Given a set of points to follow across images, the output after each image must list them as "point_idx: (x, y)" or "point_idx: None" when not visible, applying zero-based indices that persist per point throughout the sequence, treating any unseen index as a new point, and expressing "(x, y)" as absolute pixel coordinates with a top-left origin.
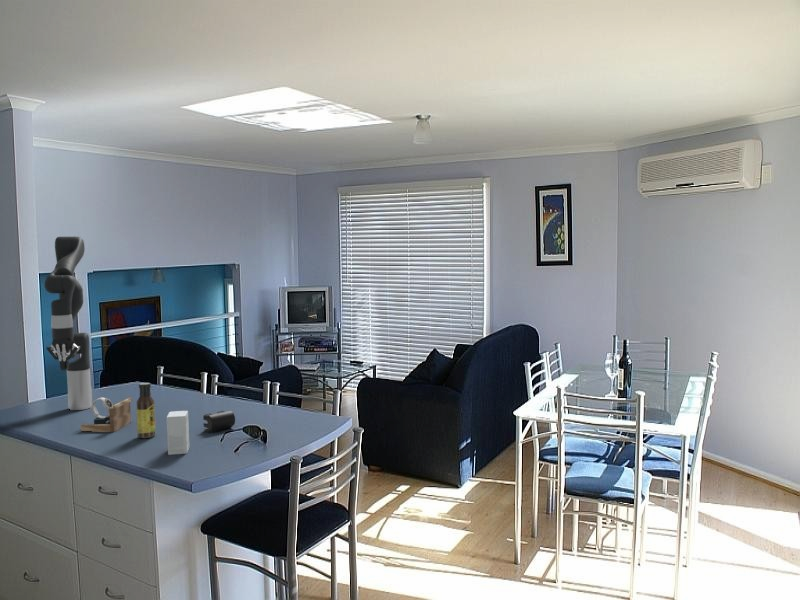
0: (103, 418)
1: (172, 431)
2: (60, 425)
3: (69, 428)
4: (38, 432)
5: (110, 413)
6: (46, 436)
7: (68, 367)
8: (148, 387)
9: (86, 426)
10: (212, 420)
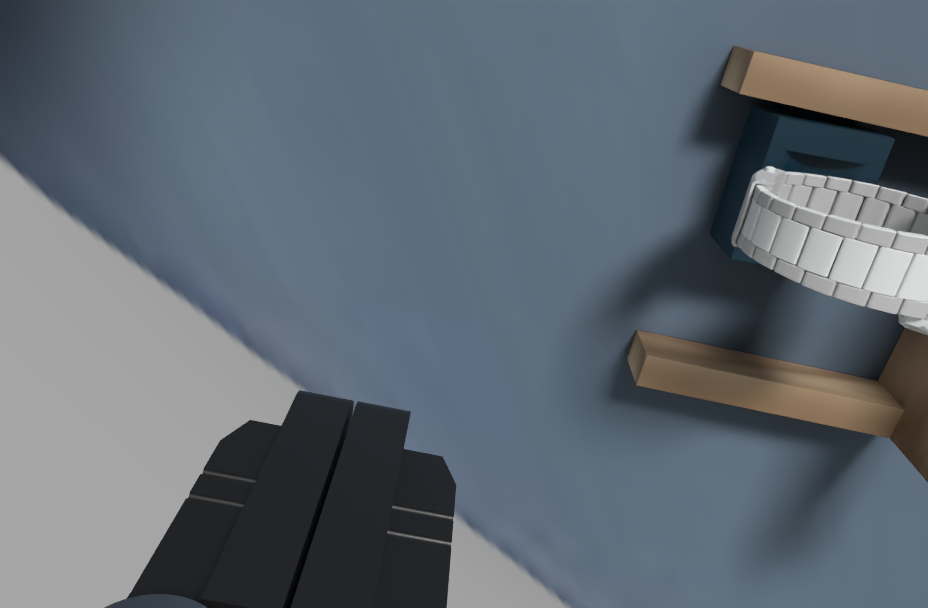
0: (810, 171)
1: None
2: (371, 97)
3: (496, 229)
4: (280, 309)
5: None
6: None
7: (448, 503)
8: None
9: (684, 391)
10: None
